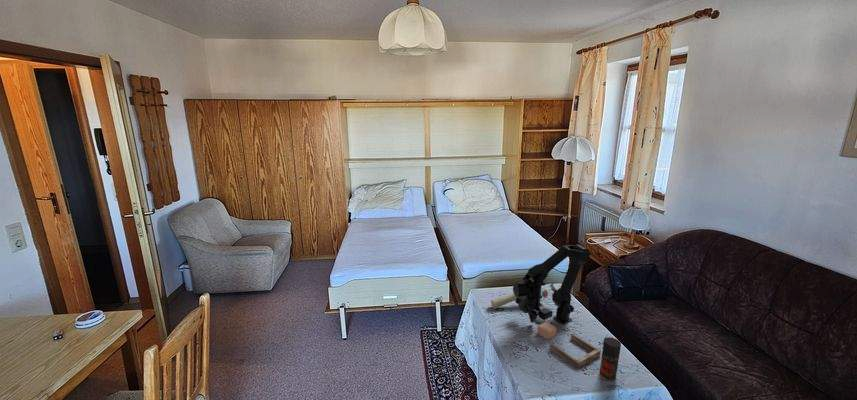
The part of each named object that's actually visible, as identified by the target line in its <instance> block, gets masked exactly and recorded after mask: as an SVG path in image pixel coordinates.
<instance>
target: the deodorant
mask: <svg viewBox="0 0 857 400" xmlns="http://www.w3.org/2000/svg"><path fill="white" fill-rule="evenodd" d="M621 346H622V343H621V341H620V340H618V339H617V338H614V337H611V336H610V337H609V336H608V337H605V338H604V339H603V346H602V350H601V359H600V365H599V366H600V367H599V376H601V377H602V378H603V379H605V380H608V381H615V380H616V379H615V378H617V373H618V367H619V366H618V365H619V361H620V353H621Z"/></svg>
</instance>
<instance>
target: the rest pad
mask: <svg viewBox="0 0 857 400" xmlns="http://www.w3.org/2000/svg"><path fill="white" fill-rule="evenodd" d="M546 320H547V319H546ZM546 320H543V319H541V318H540V317H539V316H537V318H536V319H535V321H534V322H533V323H535V324H537V325H540V324H542V323H544V322H547V321H546Z"/></svg>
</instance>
